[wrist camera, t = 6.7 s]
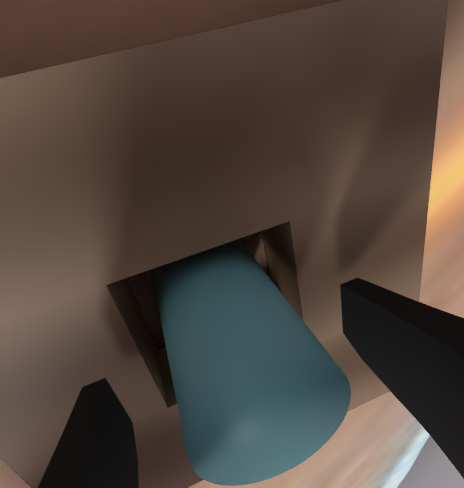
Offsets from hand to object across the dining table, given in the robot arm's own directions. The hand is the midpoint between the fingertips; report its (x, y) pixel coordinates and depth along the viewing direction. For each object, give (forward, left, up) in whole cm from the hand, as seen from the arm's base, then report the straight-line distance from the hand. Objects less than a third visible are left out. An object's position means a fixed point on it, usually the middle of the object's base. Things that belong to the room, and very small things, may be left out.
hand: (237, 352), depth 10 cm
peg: (0, 0, -4) cm, 4 cm away
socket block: (0, 0, -4) cm, 4 cm away
